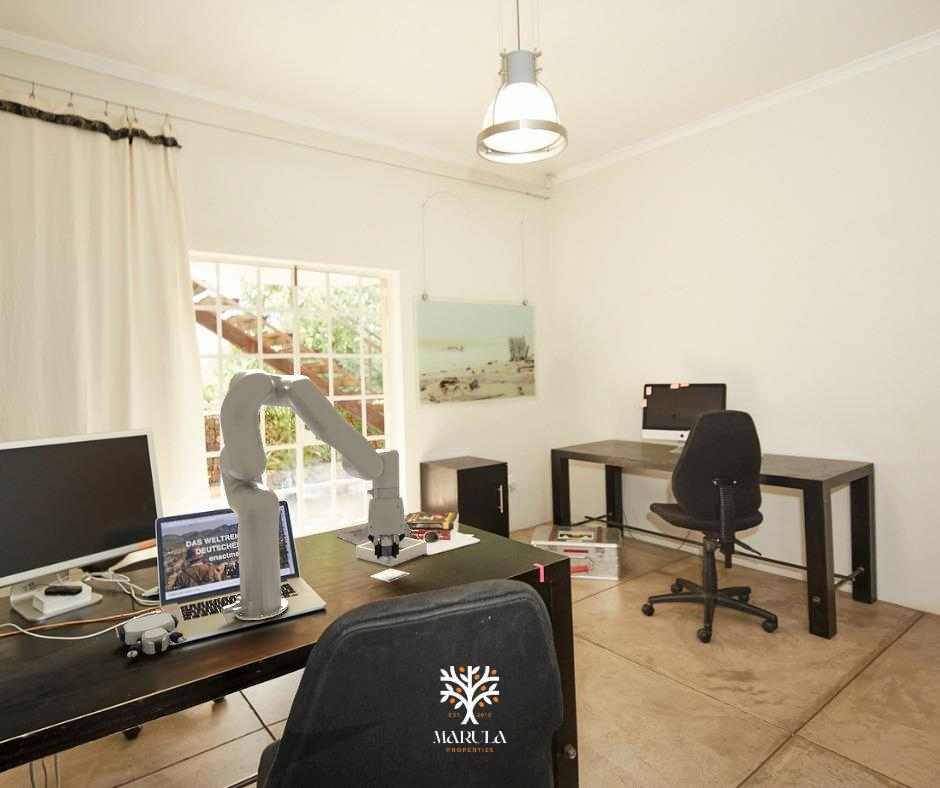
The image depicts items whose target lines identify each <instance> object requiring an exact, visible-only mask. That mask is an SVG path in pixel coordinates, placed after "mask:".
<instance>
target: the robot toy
mask: <svg viewBox="0 0 940 788" xmlns="http://www.w3.org/2000/svg"><path fill="white" fill-rule="evenodd" d="M173 613H174V615H173V614H171V613H169V612H168V613H167V612H164V613H163V612H161V613H155V614H149V615H145V616H141V617H139V618H134V619H133V620H131V621H128V622H127V623H125V624H123V627H122V628H121V629H120V630H119V631H118V628H117V627H118V626H117V625H115V626H114V629H115V631H116V632H115V633H116V637H117V640H118V639H119V640H120V641H121V642H122V643H124V644H126V645H130V647H129V649H128V653H127V657H128V658H134V657H135V658H136V656H138V655H139V654H140V653H141V651H142V652H143V653H145V654H146V655H154V654H156V653H159V652H164V651H166V650H167V648H168V647H169V644H170V642H171V641H172V642H171V643H173V642H174V643H173V644H182V643H184V642H186V641H188V638H187V636H184V634H183V633H182V632H179V631H175V629H177V627H178V625H179V623H180V618H178V615H177V611H176V610H173ZM172 631H174V632H172ZM171 632H172V633H171Z"/></svg>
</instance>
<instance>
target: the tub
mask: <svg viewBox="0 0 940 788" xmlns="http://www.w3.org/2000/svg"><path fill="white" fill-rule="evenodd" d="M378 541H379V543H380V539H378ZM394 541H395V538H394ZM427 551H428V549H427V541H426V540H420V539H415V538H412V537H411V538H410V537H407V536H406V537H405V538H404V539H403V540H402V541H401V542H400V543H399V555H397V557H396V559H395V558H394V562H393V563H389V564H382V563H380V559H377V555H376V556H375V546H374V544H373V543H372V542H368V543H364V544H361V545H356V546H355V559H361V560H363V561H368V562H372V563H376V564H380V565H383V566H387V567H394V566H397V565H398V564H399V565H400V564H401V563H404V562H407V561H410V560H412V559H414V558H417V557H420V556H422V555H425V554H426V555H427V554H428V552H427Z"/></svg>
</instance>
